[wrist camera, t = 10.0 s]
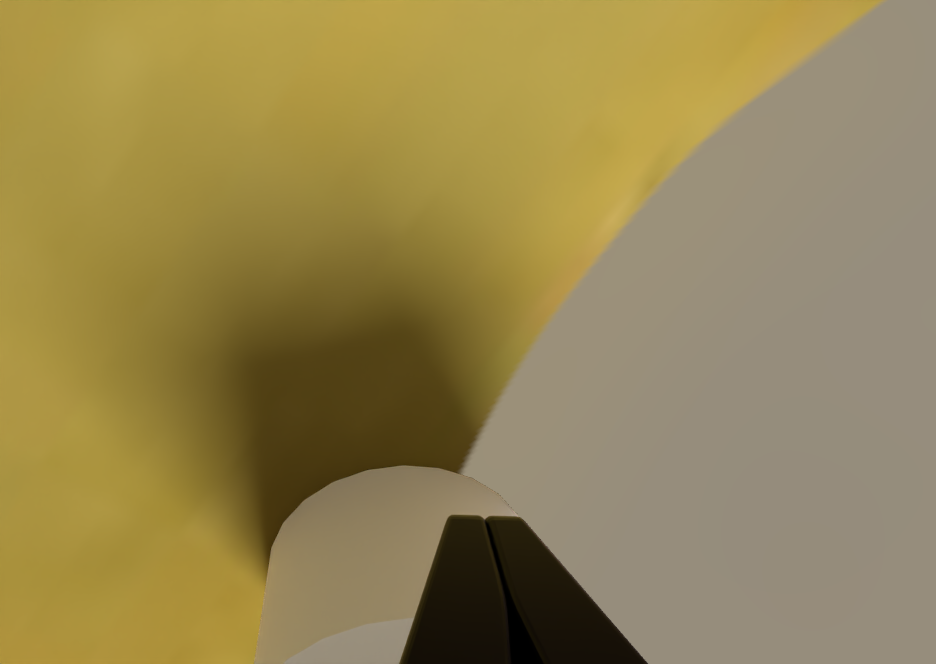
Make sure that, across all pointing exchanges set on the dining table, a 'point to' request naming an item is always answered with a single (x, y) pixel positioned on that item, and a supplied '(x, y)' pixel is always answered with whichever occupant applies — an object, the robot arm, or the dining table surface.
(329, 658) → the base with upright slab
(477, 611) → the robot arm
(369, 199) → the dining table surface
